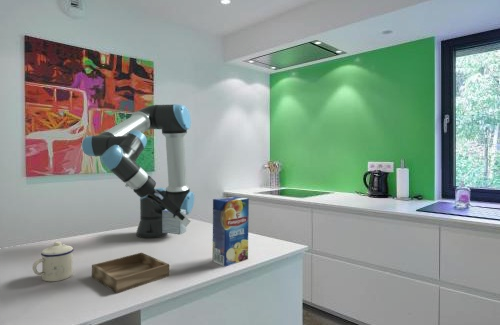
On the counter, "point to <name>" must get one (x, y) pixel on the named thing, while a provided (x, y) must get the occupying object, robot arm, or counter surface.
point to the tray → (129, 272)
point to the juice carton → (230, 230)
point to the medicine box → (172, 223)
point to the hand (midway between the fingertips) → (182, 221)
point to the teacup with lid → (56, 262)
